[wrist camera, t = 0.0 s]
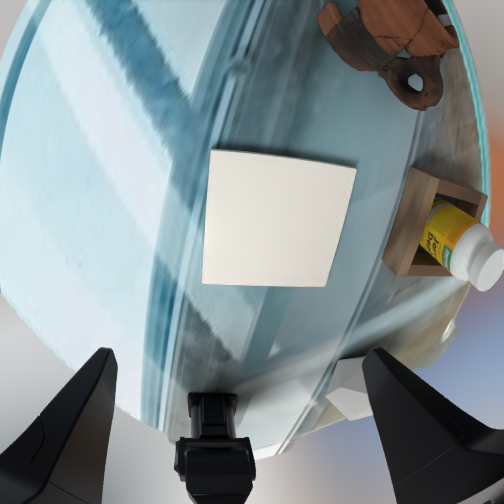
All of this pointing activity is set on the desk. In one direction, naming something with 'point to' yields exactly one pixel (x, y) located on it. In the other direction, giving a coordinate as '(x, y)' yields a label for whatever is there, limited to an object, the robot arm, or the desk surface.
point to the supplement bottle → (462, 245)
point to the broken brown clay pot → (394, 43)
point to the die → (349, 389)
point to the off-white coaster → (273, 218)
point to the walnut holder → (424, 221)
